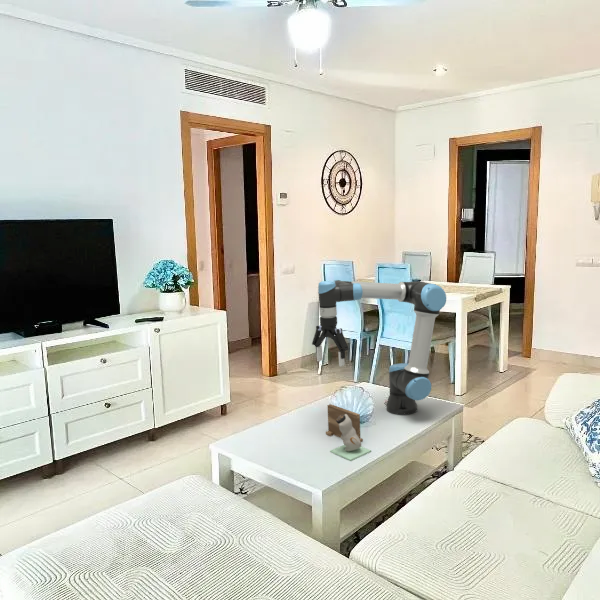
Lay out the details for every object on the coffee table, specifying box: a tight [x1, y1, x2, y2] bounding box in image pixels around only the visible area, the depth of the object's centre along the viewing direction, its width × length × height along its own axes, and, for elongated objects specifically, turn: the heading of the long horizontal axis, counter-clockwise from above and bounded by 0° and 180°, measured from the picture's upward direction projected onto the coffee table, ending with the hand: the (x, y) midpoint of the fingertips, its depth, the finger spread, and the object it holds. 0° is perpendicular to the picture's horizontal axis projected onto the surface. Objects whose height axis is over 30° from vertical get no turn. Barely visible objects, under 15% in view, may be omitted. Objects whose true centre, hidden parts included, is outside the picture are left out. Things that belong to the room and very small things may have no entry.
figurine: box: [336, 414, 362, 451], centre depth 222 cm, size 9×10×15 cm
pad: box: [329, 444, 372, 462], centre depth 223 cm, size 12×12×1 cm
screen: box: [325, 403, 364, 443], centre depth 236 cm, size 6×18×13 cm, turn 40°
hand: (330, 363), depth 240 cm, fingers open, 13 cm apart
